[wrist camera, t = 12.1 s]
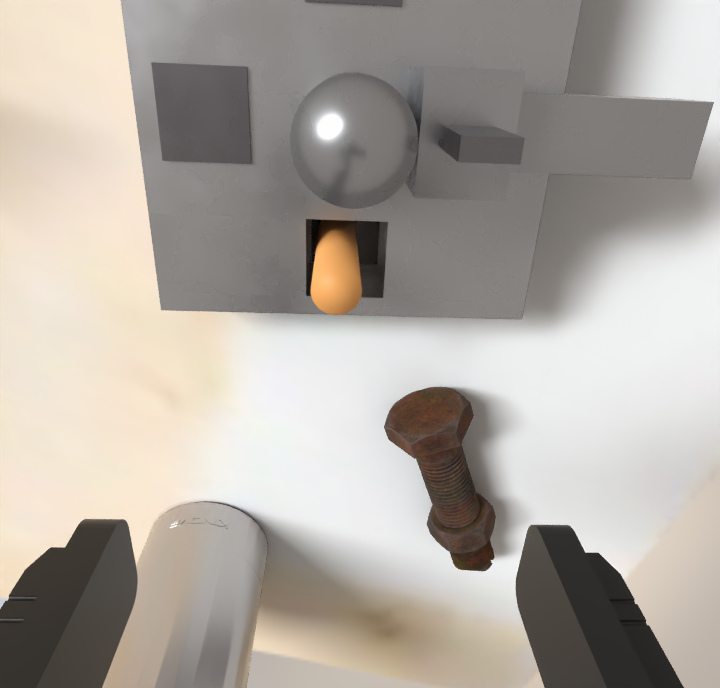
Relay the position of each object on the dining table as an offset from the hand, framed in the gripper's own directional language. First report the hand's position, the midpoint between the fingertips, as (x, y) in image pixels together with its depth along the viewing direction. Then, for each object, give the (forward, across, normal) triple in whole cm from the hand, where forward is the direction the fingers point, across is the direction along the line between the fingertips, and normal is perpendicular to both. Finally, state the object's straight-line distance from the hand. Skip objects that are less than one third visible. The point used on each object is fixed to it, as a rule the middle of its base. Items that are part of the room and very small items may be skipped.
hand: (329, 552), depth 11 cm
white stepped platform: (+24, -3, -7) cm, 25 cm away
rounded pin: (+24, 0, 0) cm, 24 cm away
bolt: (+25, -8, +18) cm, 31 cm away
